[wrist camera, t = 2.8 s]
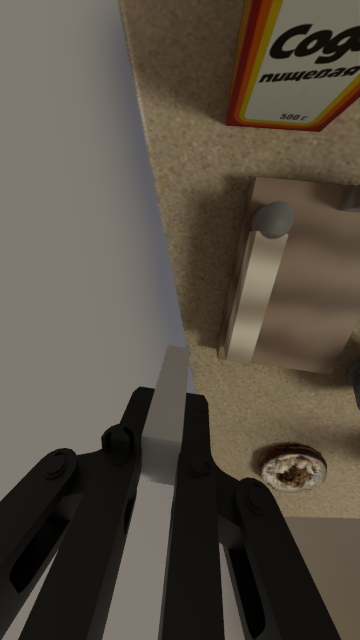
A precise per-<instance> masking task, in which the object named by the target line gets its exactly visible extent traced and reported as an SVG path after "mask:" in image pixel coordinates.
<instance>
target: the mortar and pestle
mask: <svg viewBox="0 0 360 640" xmlns="http://www.w3.org/2000/svg"><path fill="white" fill-rule="evenodd" d="M347 375H348V379H349V382H350V383H351V384H352V385H353V388H354V393H355V398H356V402H357V407H358V408H359V410H360V359H359V360H357V361H355V362H354V363H353V364H352V366H351V367H350V369H349V370H348V372H347Z"/></svg>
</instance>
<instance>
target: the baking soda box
mask: <svg viewBox="0 0 360 640" xmlns="http://www.w3.org/2000/svg"><path fill="white" fill-rule="evenodd" d="M359 97H360V0H245V1H244V6H243V12H242V17H241V23H240V28H239V34H238V41H237V48H236V55H235V63H234V70H233V77H232V84H231V91H230V98H229V105H228V112H227V120H226V126H240V127H255V128H269V129H284V130H298V131H313V132H320V131H321V130H323V129H324V128H325V127H326V126H327V125H328V124H329V123H331V122H332V121H333V120H334V119H335V118H336V117H337V116H339V115H340V114H341V113H342V112H343V111H344V110H345V109H347V108H348V107H349V106H350V105H351V104H352V103H353V102H355V101H356V100H357V99H358V98H359Z"/></svg>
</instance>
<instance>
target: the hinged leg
mask: <svg viewBox="0 0 360 640" xmlns="http://www.w3.org/2000/svg"><path fill="white" fill-rule="evenodd" d="M293 221H294V212H293V209H292V207H291V206H290V205H289V204H288V203H286V202H283V201H275V202H272V203H270V204H268V205H266V206H263V207H261V208H260V209H258V210H257V211H256V212H255V214H254V215H253V217H252V219H251V230H252V231H250V232H249V237H248V241H247V246H246V250H245V255H244V259H243V264H242V268H241V273H240V277H239V282H238V286H237V291H236V295H235V300H234V304H233V309H232V313H231V318H230V322H229V327H228V331H227V335H226V340H225V344H224V352H225V357H226V360H228V361H235V362H242V363H249V364H250V362H251V359H252V356H253V352H254V349H255V346H256V342H257V339H258V335H259V332H260V329H261V325H262V322H263V319H264V315H265V312H266V309H267V305H268V302H269V298H270V295H271V292H272V288H273V285H274V282H275V278H276V275H277V271H278V268H279V265H280V261H281V258H282V255H283V251H284V248H285V245H286V241H287V238H288V234H286V233H287V232H288V231H289V230H290V228H291V227H292V224H293Z"/></svg>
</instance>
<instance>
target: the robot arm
mask: <svg viewBox="0 0 360 640" xmlns="http://www.w3.org/2000/svg"><path fill="white" fill-rule="evenodd" d="M189 354H190V348H183V347H175V346H168V347H167V350H166V354H165V358H164V361H163V364H162V367H161V371H160V374H159V378H158V381H157V385H156V388H155V389H153V388H146V387H139V388H137V390H135V391H134V392H133V393H132V396H131V398H130V400H129V403H128V405H127V408H126V410H125V412H124V415H123V417H122V419H121V421H120V424H117V425H114V426H111V427H110V428H109V429H107V430H106V431H105V432H104V434H103V435H102V437H101V440H102V449H100V450H99V451H96V452H92V453H87V454H81V455H76V453H75V452H74V451H73V450H72V449H67V448H62V449H57V450H55V451H52V452H50V453H49V454H47V455H46V456H45V457H44V458H42V459H41V460H40V461H39V462H38V463H37V464H36V465H35V467H33V468H32V469H31V470H30V471H29V473H28V474H27V475H26V476H25V477H24V478H23V479H22V480H21V481H20V482H19V483H18V484H17V485H16V486H15V487H14V488H13V489H12V490H11V491H10V492H9V493H8V494H7V495H6V496H5V497H4V498H3V499H2V500H1V501H0V640H1V639H2V638H3V636H4V635H5V633H6V631H7V630H8V628H9V627H10V625H11V624H12V622H13V620H14V619H15V617H16V615H17V614H18V612H19V611H20V609H21V608H22V606H23V605H24V603H25V601H26V600H27V598H28V597H29V595H30V593H31V592H32V590H33V589H34V587H35V585H36V584H37V582H38V581H39V579H40V578H41V576H42V574H43V573H44V571H45V569H46V568H47V566H48V565H49V563H50V562H51V560H52V558H53V557H54V555H55V554H56V552H57V550H58V549H59V550H58V552H57V554H56V557H55V559H54V561H53V563H52V566H51V568H50V570H49V573H48V574H47V577H46V579H45V581H44V583H43V586H42V588H41V590H40V592H39V594H38V597H37V599H36V601H35V604H34V606H33V608H32V610H31V612H30V615H29V617H28V619H27V621H26V624H25V626H24V628H23V630H22V632H21V635H20V637H19V639H18V640H102V637H103V633H104V629H105V625H106V621H107V617H108V612H109V608H110V604H111V600H112V596H113V592H114V587H115V584H116V579H117V575H118V571H119V567H120V563H121V558H122V554H123V550H124V546H125V542H126V538H127V534H128V529H129V525H130V521H131V517H132V513H133V509H134V504H135V500H136V494H137V486H138V482H139V478H140V480H145V481H151V482H157V483H163V484H169V485H174V496H173V502H172V508H171V520H170V530H169V539H168V548H167V558H166V567H165V577H164V586H163V596H162V605H161V615H160V624H159V635H158V640H225V636H224V620H223V603H222V587H221V570H220V554H219V542H220V543H221V544H222V545H223V548H224V552H225V557H226V560H227V565H228V569H229V573H230V578H231V582H232V586H233V590H234V595H235V599H236V603H237V607H238V612H239V616H240V620H241V624H242V628H243V632H244V637H245V640H341V639H340V636H339V634H338V632H337V630H336V627H335V625H334V623H333V621H332V619H331V617H330V615H329V613H328V610H327V608H326V606H325V604H324V602H323V600H322V598H321V596H320V593H319V591H318V589H317V587H316V585H315V583H314V581H313V579H312V577H311V574H310V572H309V570H308V568H307V566H306V564H305V562H304V560H303V557H302V555H301V553H300V551H299V549H298V547H297V545H296V543H295V540H294V538H293V536H292V534H291V532H290V530H289V528H288V526H287V523H286V521H285V519H284V517H283V515H282V513H281V511H280V509H279V507H278V504H277V502H276V500H275V498H274V496H273V495H272V493H271V492H270V490H269V489H268V488H267V487H266V486H265V485H264V484H263V483H262V482H260V481H258V480H257V479H255V478H248V477H247V478H244V479H242V480H240V481H239V480H237V479H235V478H233V477H231V476H230V475H228V474H226V473H225V472H223V471H222V470H221V469H220V468H219V467H218V466H217V465H216V464H215V462H214V460H213V458H212V455H211V449H210V429H209V410H208V402H207V400H206V398H205V396H204V395H198V394H191V393H186V389H187V376H188V366H189ZM59 547H60V548H59Z"/></svg>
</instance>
